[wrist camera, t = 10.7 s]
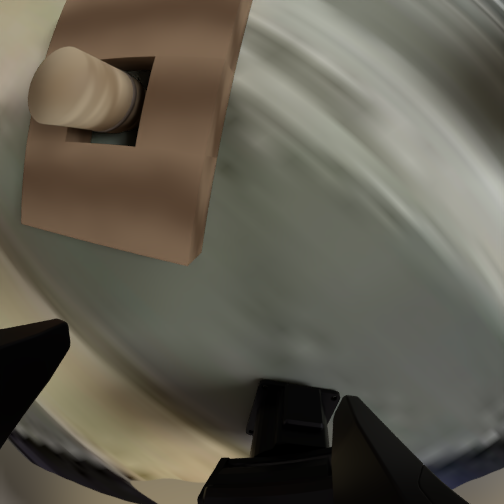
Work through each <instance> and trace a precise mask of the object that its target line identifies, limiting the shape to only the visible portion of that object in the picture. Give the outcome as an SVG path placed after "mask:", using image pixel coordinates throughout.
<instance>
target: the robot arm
mask: <svg viewBox="0 0 504 504" xmlns="http://www.w3.org/2000/svg"><path fill="white" fill-rule="evenodd" d="M69 348H70V336H69V327H68V324H67V323H66V322H65V321H62V320H60V319H52V320H47V321H42V322H37V323H32V324H27V325H21V326H16V327H11V328H5V329H0V449H1V447H2V445H3V444H4V443H5V441H6V440H7V438H8V437H9V435H10V434H11V432H12V431H13V430H14V428H15V427H16V425H17V424H18V422H19V421H20V420H21V418H22V417H23V415H24V414H25V413H26V411H27V410H28V409H29V407H30V406H31V404H32V403H33V402H34V400H35V399H36V398H37V396H38V395H39V394H40V392H41V391H42V390H43V388H44V387H45V386H46V384H47V383H48V382H49V380H50V379H51V377H52V376H53V374H54V372H55V371H56V369H57V367H58V366H59V364H60V363H61V361H62V359H63V358H64V356H65V355H66V353H67V352H68V350H69ZM264 385H266V386H268V387H264ZM333 396H336V397H334V398H332V397H333ZM339 400H340V394H339V392H338V391H333V390H325V389H318V388H311V387H305V386H298V385H292V384H287V383H281V382H276V381H270V380H262V381H260V383H259V386H258V389H257V393H256V396H255V400H254V403H253V407H252V410H251V414H250V417H249V421H248V424H247V428H246V433H247V434H248V435H252V436H253V439H252V445H251V451H250V457H249V458H235V459H230V458H221V459H220V461H219V462H218V464H217V466H216V467H215V469H214V471H213V472H212V474H211V476H210V477H209V479H208V480H207V482H206V484H205V485H204V487H203V489H202V491H201V493H200V494H199V496H198V499H197V500H198V504H469V503H468V502H467V501H465V500H464V499H463V498H462V497H460V496H459V495H457V494H456V493H455V492H454V491H453V490H451V489H450V488H449V487H448V486H447V485H445V484H444V483H443V482H442V481H441V480H440V479H439V478H438V477H436V476H435V475H434V474H433V473H432V472H431V471H430V470H429V469H428V468H427V467H426V466H425V465H423V463H422V462H421V461H420V460H419V459H418V458H417V457H416V456H415V455H414V454H413V453H412V452H411V451H410V450H409V449H408V448H407V447H406V446H405V445H404V444H403V443H402V442H401V441H400V440H399V439H398V438H397V437H396V436H395V435H394V434H393V433H392V432H391V431H390V430H389V428H388V427H387V426H386V425H385V424H384V423H383V422H382V421H381V420H380V419H379V418H378V417H377V416H376V415H375V414H374V413H373V412H372V411H371V410H370V409H369V408H368V407H367V406H366V405H365V404H364V403H363V402H362V401H361V399H360V398H358V397H357V396H350V395H346V396H344V397H343V398H342V400H341V402H340V404H339V406H338V408H337V410H336V412H335V414H334V418H333V437H332V447H329V438H328V428H327V424H328V422H329V420H330V418H331V416H332V414H333V412H334V410H335V408H336V406H337V404H338V402H339Z"/></svg>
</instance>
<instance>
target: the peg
mask: <svg viewBox="0 0 504 504" xmlns="http://www.w3.org/2000/svg"><path fill="white" fill-rule="evenodd" d="M145 96H146V89H144V88H143V86H142V84H141V83H140V82H139V81H138V80H137V79H136V78H134V77H132V76H130V75H129V74H128V73H126V72H124V71H123V70H120V69H117V68H115V67H113V66H111V65H109V64H107V63H105V62H103V61H101V60H100V59H98V58H96V57H93V56H91V55H89V54H87V53H85V52H83V51H81V50H79V49H77V48H75V47H69V46H68V47H63V48H60V49H58V50H56V51H54V52H53V53H51V54H50V55H49V56H48V57H47V58H46V59H45V60H44V61H43V62H42V63H41V65H40V66H39V67H38V69H37V71H36V72H35V74H34V77H33V79H32V82H31V85H30V88H29V94H28V106H29V110H30V113H31V115H32V117H33V118H34V119H35V120H36V121H37V122H39V123H41V124H48V125H57V126H65V127H73V128H80V129H87V130H92V131H95V132H106V133H120V132H123V131H131V130H134V129H136V128H137V127H139V124H140V119H141V114H142V109H143V105H144V100H145Z"/></svg>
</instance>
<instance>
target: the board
mask: <svg viewBox="0 0 504 504" xmlns="http://www.w3.org/2000/svg"><path fill="white" fill-rule="evenodd" d="M251 4H252V0H67V1H66V3H65V5H64V8H63V10H62V13H61V15H60V18H59V20H58V23H57V25H56V28H55V31H54V34H53V36H52V39H51V42H50V45H49V48H48V51H47V55H46V58H47V57H48V56H49V55H50V54H51V53H53V52H54V51H56V50H58V49H60V48H63V47H68V46H69V47H75V48H77V49H79V50H81V51H83V52H85V53H87V54H89V55H91V56H93V57H96V58H98V59H100V60H101V61H103V62H105V63H107V64H109V65H111V66H113V67H115V68H117V69H120V70H123V71H131V70H152V71H151V75H150V79H149V83H148V87H147V91H146V96H145V100H144V105H143V109H142V114H141V119H140V124H139V129H138V135H137V140H136V146H135V147H132V146H121V145H109V144H96V143H91V137H92V130H87V129H80V128H73V127H65V126H57V125H48V124H41V123H39V122H37V121H36V120H35V119H34V118H33V117H32V115H31V120H30V126H29V132H28V139H27V146H26V154H25V163H24V173H23V187H22V210H21V224H24V225H28V226H32V227H35V228H39V229H42V230H46V231H50V232H54V233H57V234H61V235H65V236H69V237H72V238H76V239H80V240H84V241H88V242H91V243H95V244H99V245H103V246H107V247H111V248H115V249H119V250H123V251H127V252H131V253H135V254H139V255H143V256H147V257H152V258H156V259H160V260H164V261H168V262H172V263H177V264H181V265H185V266H188V265H189V264H190V263H191V262H192V261H193V260H194V259H195V258H196V257H197V256H198V255H199V254H200V253H201V251H202V245H203V238H204V231H205V225H206V219H207V213H208V207H209V201H210V195H211V189H212V183H213V178H214V172H215V166H216V161H217V156H218V150H219V145H220V140H221V135H222V130H223V125H224V120H225V115H226V110H227V105H228V101H229V96H230V91H231V87H232V82H233V78H234V73H235V69H236V64H237V60H238V56H239V52H240V47H241V43H242V39H243V35H244V31H245V27H246V23H247V19H248V15H249V12H250V8H251ZM46 58H45V59H46Z"/></svg>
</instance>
